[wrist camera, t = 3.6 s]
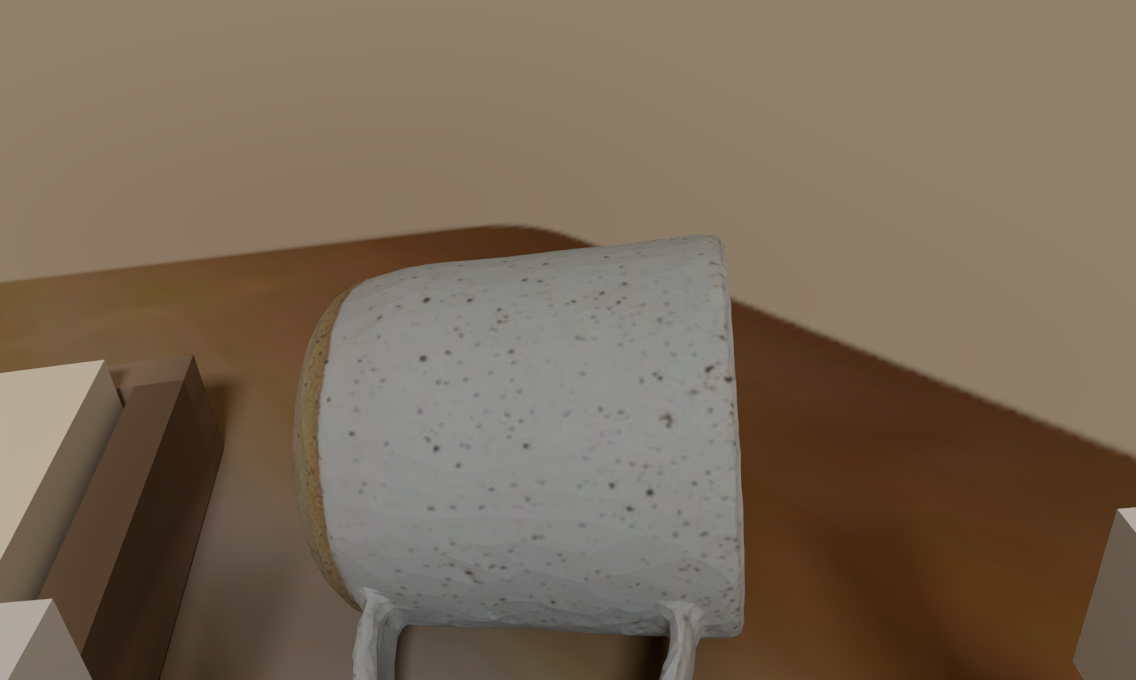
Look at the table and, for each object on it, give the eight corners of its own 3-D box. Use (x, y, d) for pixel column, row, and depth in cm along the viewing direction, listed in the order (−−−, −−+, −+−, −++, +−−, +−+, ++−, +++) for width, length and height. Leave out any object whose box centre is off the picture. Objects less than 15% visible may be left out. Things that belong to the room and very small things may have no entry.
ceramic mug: (408, 464, 25) (350, 190, 21) (727, 459, 24) (732, 174, 20) (276, 873, 16) (131, 538, 12) (772, 888, 15) (796, 533, 11)
